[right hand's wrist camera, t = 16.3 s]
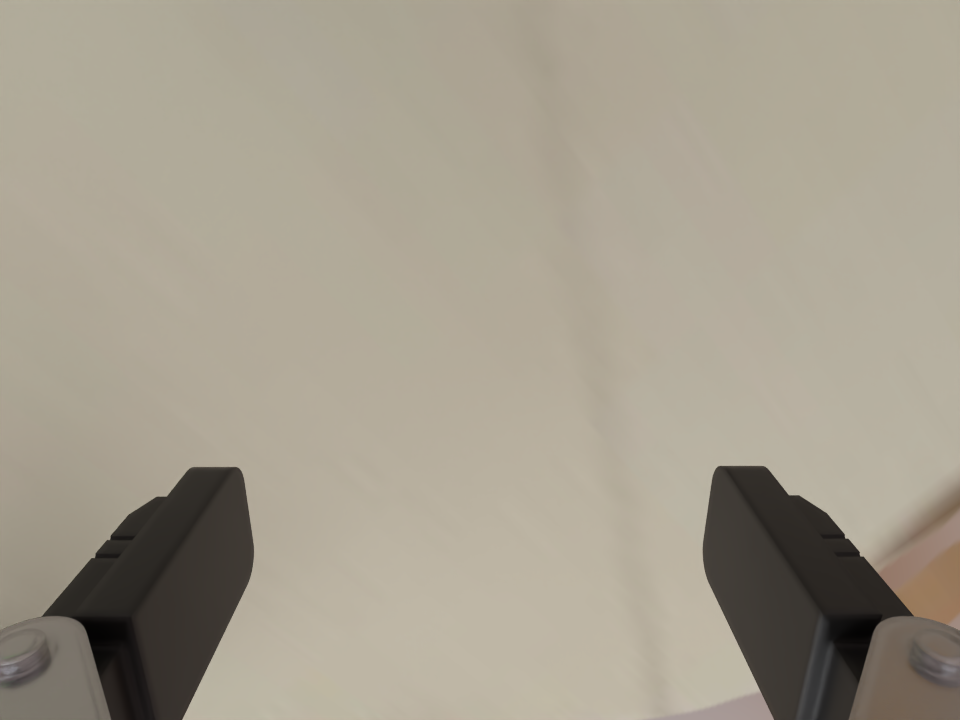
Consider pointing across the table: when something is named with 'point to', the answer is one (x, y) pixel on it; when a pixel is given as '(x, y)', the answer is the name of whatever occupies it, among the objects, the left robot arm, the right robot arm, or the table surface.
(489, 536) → the table surface
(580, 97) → the table surface
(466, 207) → the table surface
